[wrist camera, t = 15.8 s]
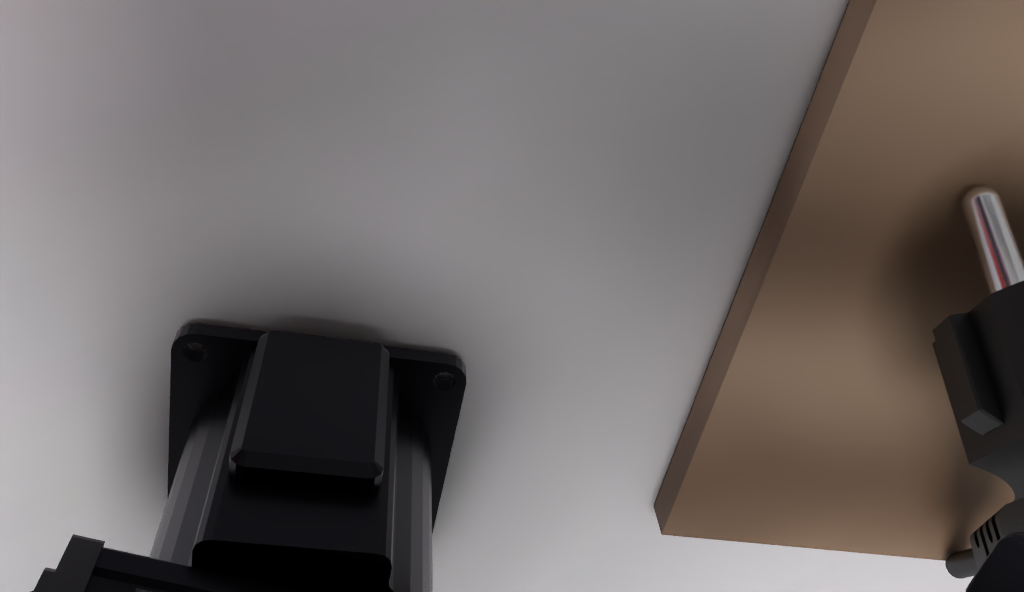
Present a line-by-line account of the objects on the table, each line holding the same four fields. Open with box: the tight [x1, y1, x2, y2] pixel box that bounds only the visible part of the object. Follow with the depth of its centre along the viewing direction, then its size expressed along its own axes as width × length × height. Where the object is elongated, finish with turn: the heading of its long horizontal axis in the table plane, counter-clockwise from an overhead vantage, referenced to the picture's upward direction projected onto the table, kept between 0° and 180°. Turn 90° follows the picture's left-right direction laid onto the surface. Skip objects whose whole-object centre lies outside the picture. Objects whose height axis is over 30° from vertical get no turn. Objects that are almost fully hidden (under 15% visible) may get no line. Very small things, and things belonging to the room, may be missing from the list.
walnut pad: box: [654, 0, 1024, 561], centre depth 22 cm, size 16×12×1 cm
